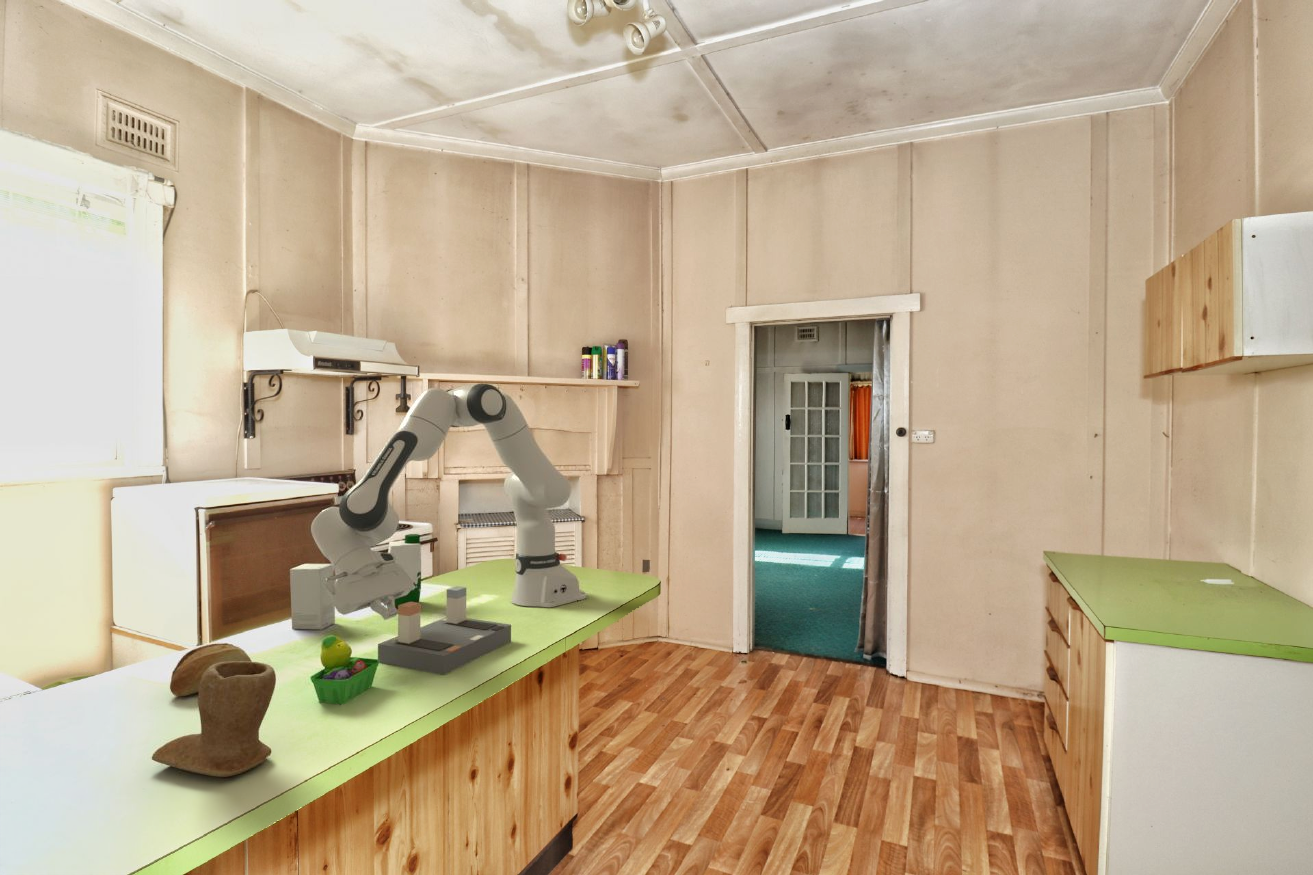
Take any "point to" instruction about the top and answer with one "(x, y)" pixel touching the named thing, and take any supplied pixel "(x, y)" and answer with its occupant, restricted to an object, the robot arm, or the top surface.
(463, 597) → the switch
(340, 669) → the fruit basket
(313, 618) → the skincare box
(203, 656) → the bread roll
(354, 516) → the robot arm
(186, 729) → the top surface
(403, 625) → the switch
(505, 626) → the console
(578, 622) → the top surface
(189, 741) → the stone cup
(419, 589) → the milk carton
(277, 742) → the top surface
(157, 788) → the top surface
